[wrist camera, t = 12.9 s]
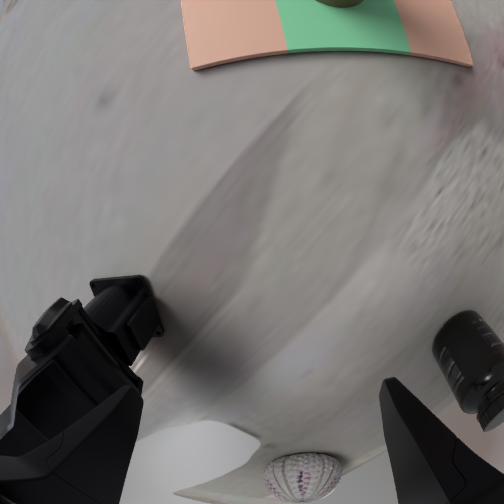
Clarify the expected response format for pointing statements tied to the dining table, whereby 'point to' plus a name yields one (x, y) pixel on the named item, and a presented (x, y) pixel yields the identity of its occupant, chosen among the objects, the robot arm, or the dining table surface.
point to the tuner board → (321, 29)
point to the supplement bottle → (473, 366)
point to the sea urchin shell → (302, 477)
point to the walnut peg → (340, 3)
